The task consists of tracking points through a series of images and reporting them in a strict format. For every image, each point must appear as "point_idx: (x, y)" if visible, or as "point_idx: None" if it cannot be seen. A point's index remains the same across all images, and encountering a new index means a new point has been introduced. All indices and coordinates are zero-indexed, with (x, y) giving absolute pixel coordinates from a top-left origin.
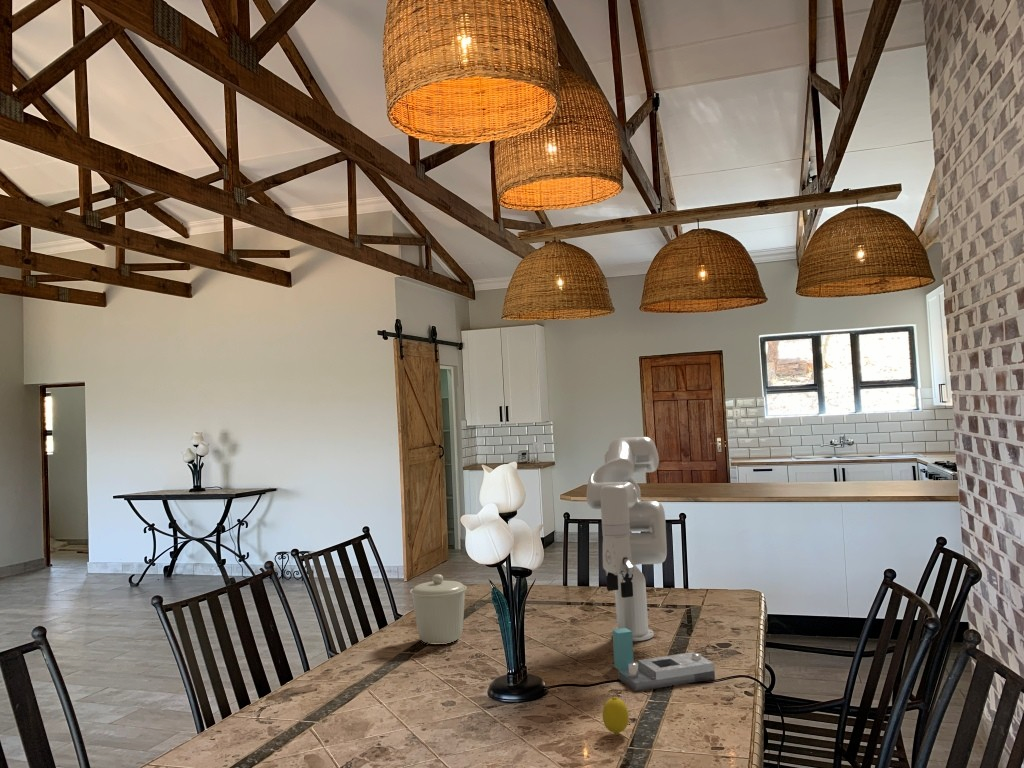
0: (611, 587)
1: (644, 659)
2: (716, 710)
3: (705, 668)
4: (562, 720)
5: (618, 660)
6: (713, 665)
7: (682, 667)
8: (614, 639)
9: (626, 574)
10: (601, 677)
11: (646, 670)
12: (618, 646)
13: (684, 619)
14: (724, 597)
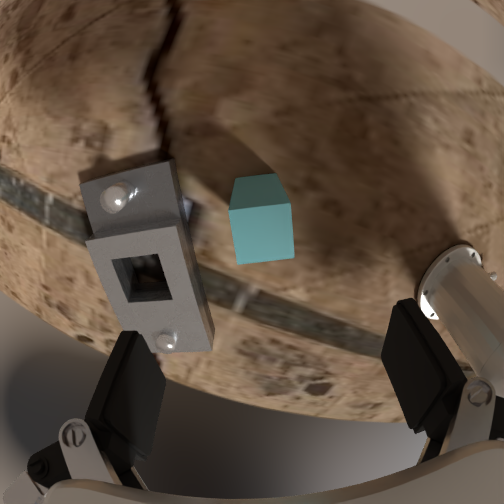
0: (398, 336)
1: (178, 244)
2: (26, 277)
3: None
4: (14, 45)
5: (245, 182)
6: None
7: (110, 299)
8: (270, 195)
9: (33, 473)
10: (198, 117)
11: (132, 228)
12: (236, 194)
13: None
14: None
